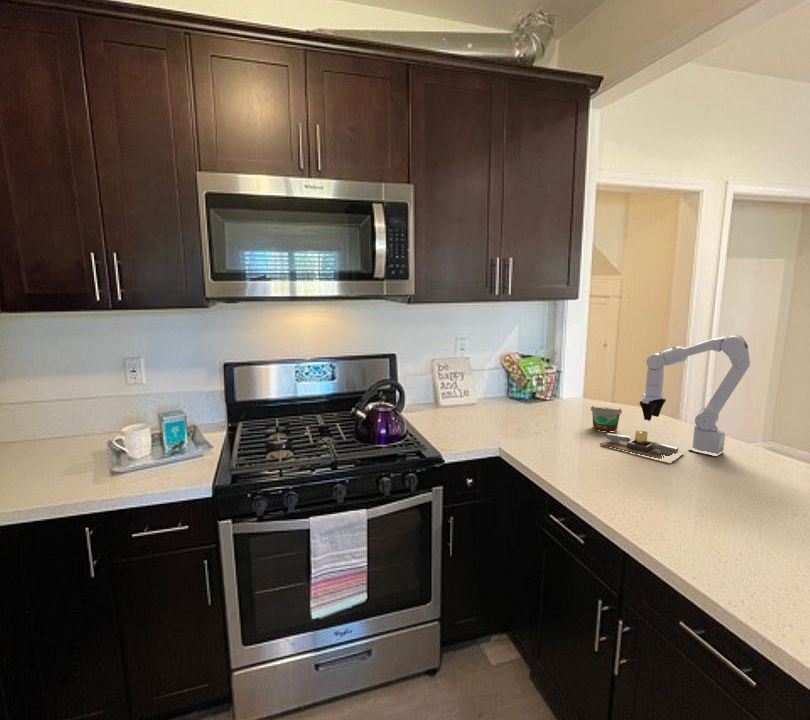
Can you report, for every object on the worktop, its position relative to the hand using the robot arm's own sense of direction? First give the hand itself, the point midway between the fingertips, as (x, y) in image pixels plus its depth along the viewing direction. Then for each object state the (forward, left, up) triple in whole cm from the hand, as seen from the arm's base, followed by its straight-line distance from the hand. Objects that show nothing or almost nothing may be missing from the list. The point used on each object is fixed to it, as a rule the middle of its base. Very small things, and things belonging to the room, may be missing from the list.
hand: (651, 418), depth 185 cm
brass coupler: (-2, +13, -8) cm, 16 cm away
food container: (+18, +1, -10) cm, 20 cm away
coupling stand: (-2, +13, -9) cm, 16 cm away
